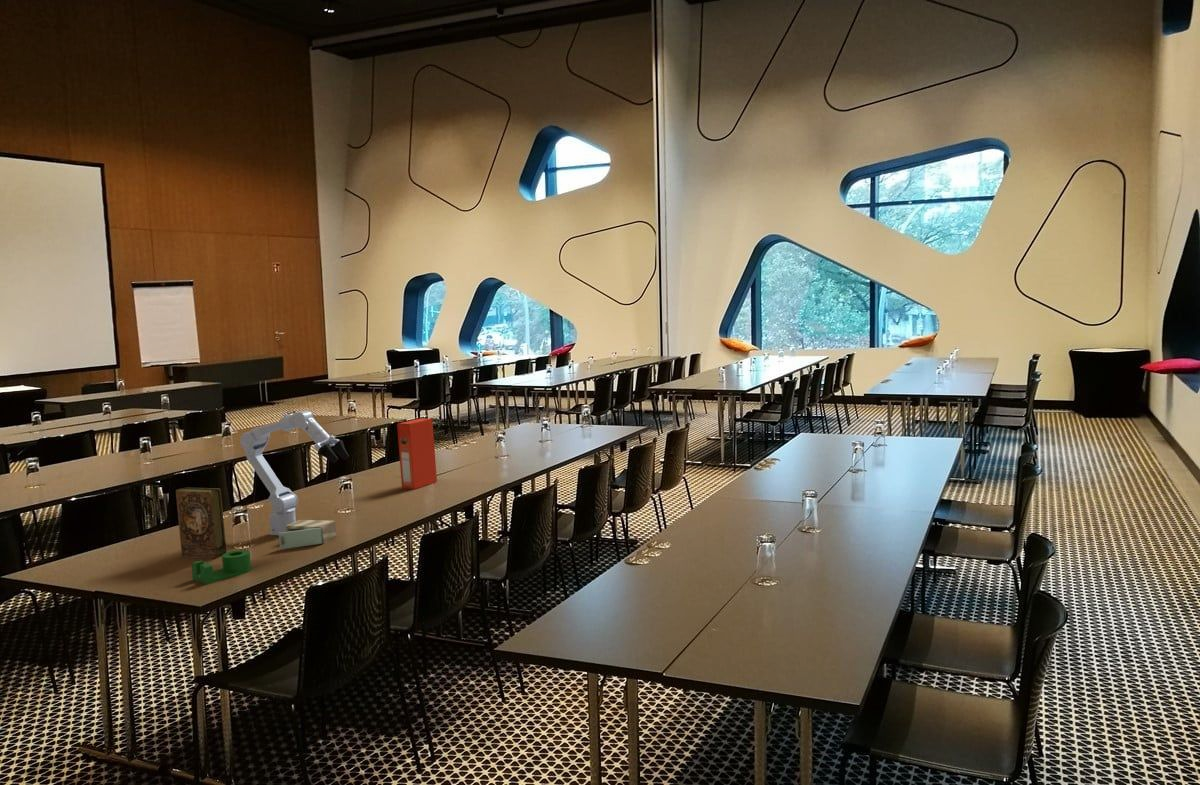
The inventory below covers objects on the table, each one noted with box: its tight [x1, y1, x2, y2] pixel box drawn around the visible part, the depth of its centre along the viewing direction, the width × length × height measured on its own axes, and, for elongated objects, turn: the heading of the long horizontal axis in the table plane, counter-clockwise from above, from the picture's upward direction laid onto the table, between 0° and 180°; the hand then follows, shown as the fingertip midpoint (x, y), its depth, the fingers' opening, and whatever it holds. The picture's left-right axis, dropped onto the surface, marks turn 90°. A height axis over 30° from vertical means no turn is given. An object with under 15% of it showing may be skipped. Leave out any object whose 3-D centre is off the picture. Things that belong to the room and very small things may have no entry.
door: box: [278, 527, 323, 550], centre depth 333 cm, size 16×2×6 cm, turn 110°
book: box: [175, 487, 227, 559], centre depth 327 cm, size 16×6×25 cm, turn 74°
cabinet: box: [286, 519, 337, 545], centre depth 343 cm, size 16×9×6 cm, turn 75°
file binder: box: [396, 418, 438, 490], centre depth 434 cm, size 8×17×32 cm, turn 152°
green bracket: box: [191, 549, 252, 585], centre depth 303 cm, size 18×9×6 cm, turn 142°
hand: (341, 459), depth 343 cm, fingers open, 7 cm apart
